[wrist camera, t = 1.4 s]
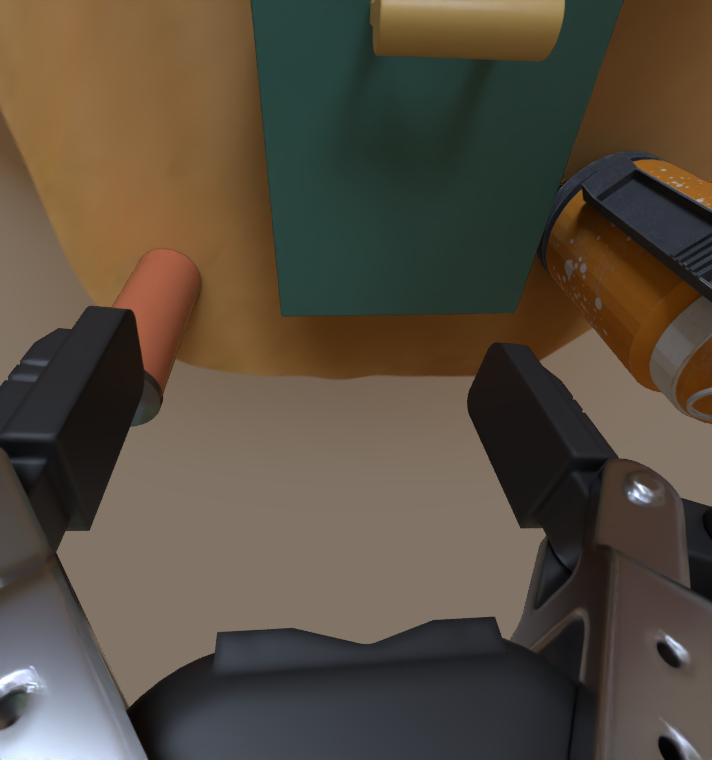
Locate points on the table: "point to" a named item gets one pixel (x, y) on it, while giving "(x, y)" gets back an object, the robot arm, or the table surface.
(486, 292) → the lid
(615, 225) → the canister
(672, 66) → the table surface
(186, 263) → the jar
